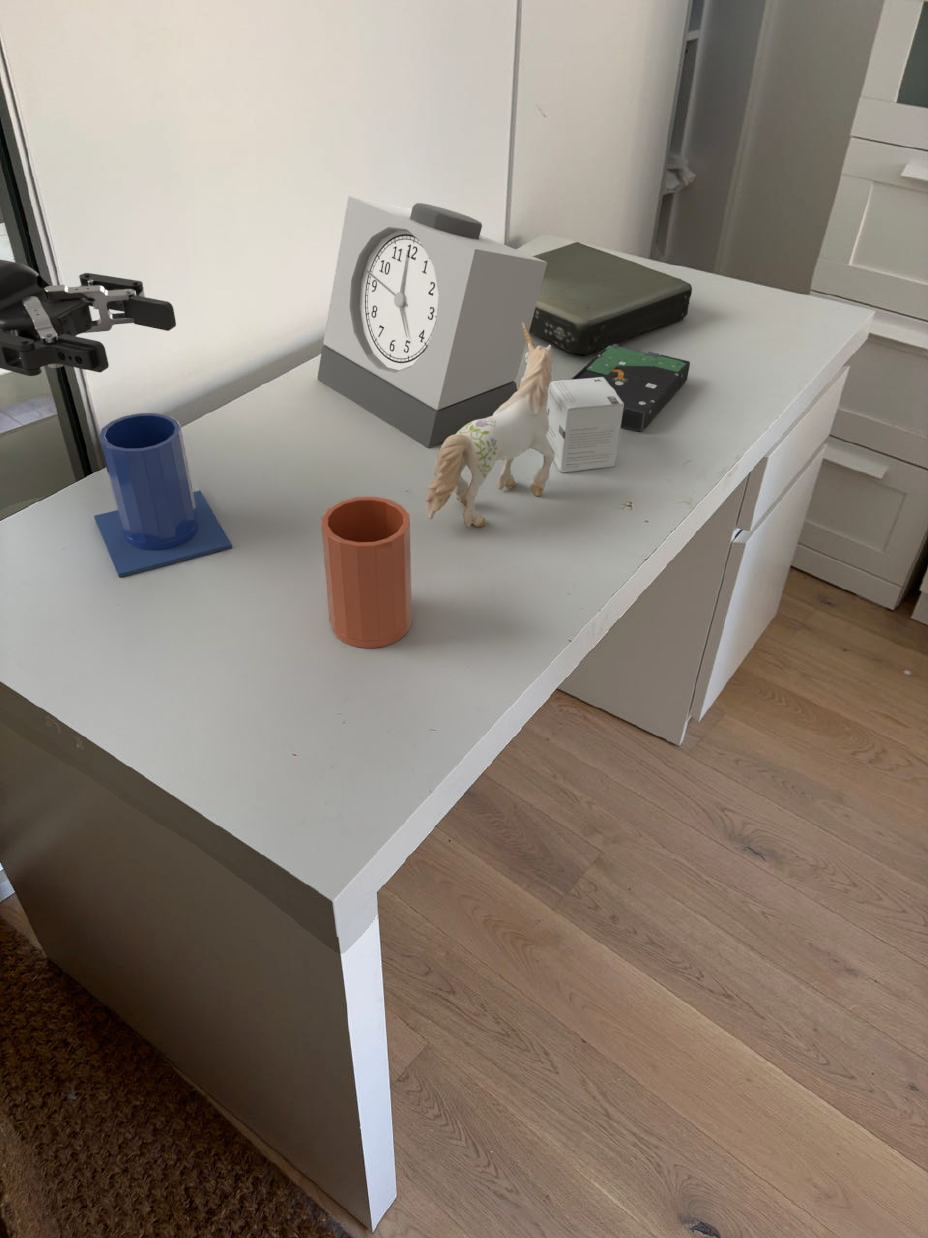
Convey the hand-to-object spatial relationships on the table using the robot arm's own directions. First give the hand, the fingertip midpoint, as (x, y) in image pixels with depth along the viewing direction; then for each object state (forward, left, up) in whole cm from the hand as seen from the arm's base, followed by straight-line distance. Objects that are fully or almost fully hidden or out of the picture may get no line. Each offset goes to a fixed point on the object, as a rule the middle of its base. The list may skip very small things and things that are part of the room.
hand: (139, 336), depth 75 cm
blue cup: (-1, +2, -19) cm, 19 cm away
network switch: (+61, +28, -19) cm, 69 cm away
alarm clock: (+33, +17, -19) cm, 41 cm away
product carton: (+41, -3, -19) cm, 45 cm away
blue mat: (-1, +2, -19) cm, 19 cm away
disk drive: (+53, +6, -19) cm, 56 cm away
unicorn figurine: (+29, -4, -19) cm, 35 cm away
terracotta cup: (+11, -18, -19) cm, 29 cm away
